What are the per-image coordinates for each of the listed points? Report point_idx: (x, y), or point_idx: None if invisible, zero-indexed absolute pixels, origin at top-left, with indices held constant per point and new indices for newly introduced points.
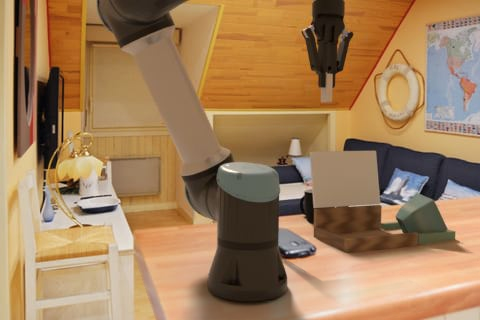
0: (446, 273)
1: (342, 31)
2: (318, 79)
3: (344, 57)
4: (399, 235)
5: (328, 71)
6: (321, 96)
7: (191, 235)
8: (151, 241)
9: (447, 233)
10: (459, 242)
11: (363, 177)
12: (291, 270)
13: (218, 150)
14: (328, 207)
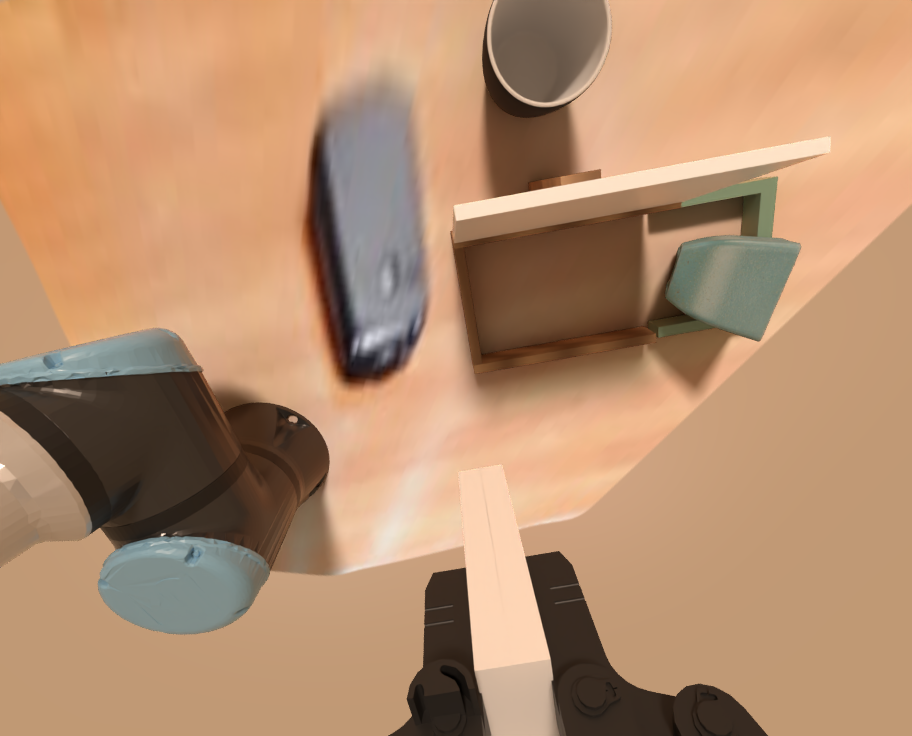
0: (570, 483)
1: None
2: (424, 644)
3: None
4: (605, 350)
5: (564, 730)
6: (462, 504)
7: (124, 147)
8: (30, 201)
9: None
10: None
11: (672, 194)
12: (341, 444)
13: (45, 537)
14: (544, 114)
